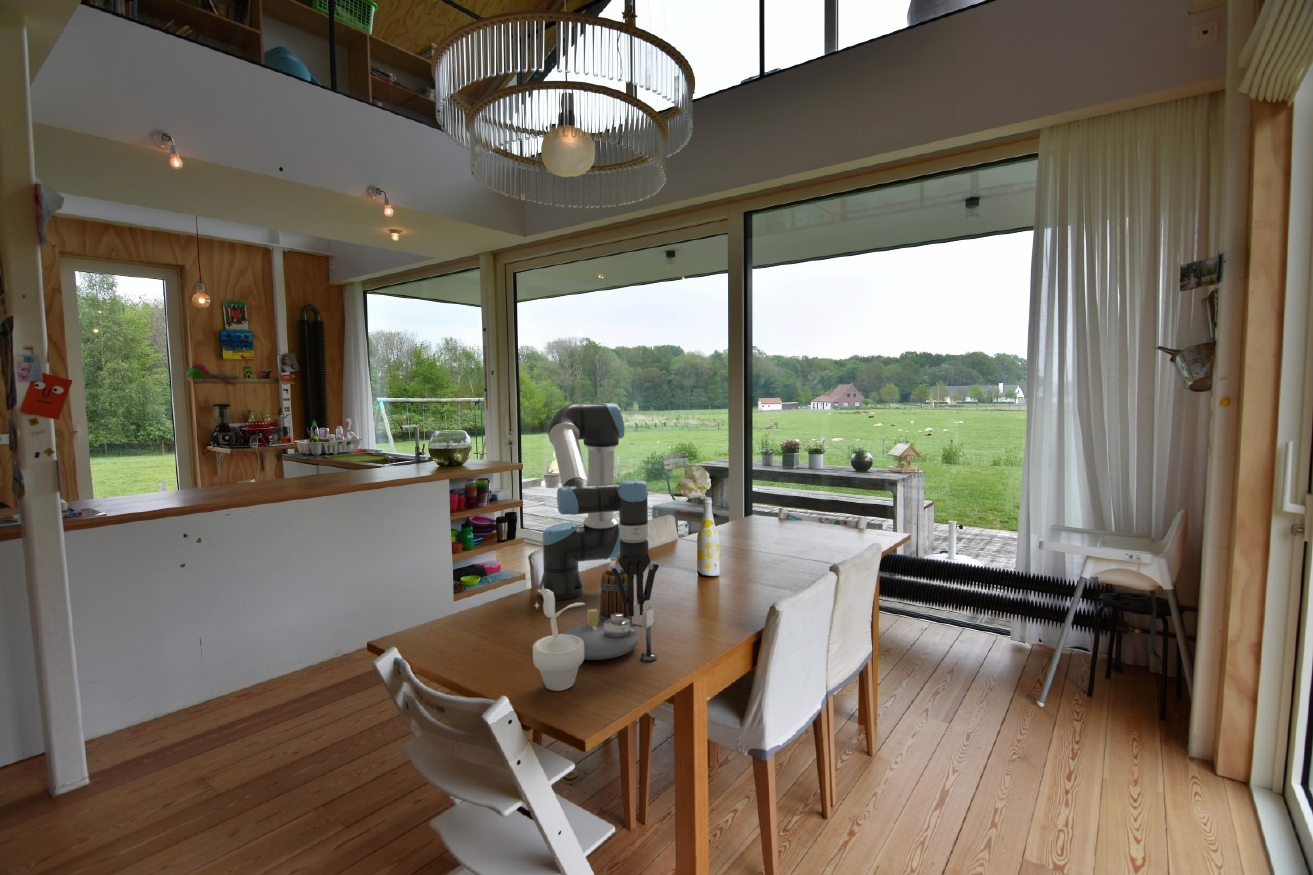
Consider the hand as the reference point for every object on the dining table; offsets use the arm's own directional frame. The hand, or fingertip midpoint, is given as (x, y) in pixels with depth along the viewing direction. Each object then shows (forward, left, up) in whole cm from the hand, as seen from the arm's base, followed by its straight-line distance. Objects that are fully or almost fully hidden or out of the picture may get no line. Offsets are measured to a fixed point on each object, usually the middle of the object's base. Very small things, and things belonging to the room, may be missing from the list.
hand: (636, 627), depth 162 cm
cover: (0, -5, -1) cm, 5 cm away
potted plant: (+17, -22, -5) cm, 28 cm away
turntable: (0, -10, -3) cm, 11 cm away
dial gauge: (+8, 0, -5) cm, 10 cm away
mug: (-20, 0, -5) cm, 21 cm away
